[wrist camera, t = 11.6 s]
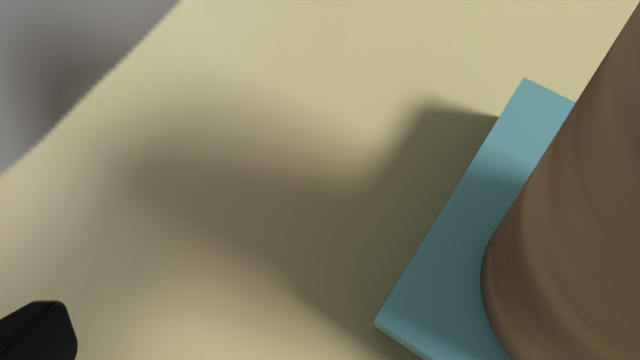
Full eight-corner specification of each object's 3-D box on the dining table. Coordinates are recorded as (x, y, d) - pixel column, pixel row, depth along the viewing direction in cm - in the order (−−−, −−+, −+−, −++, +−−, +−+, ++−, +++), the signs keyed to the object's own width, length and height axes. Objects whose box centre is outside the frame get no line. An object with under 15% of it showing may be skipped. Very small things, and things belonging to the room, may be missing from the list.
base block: (632, 501, 18) (700, 538, 15) (372, 326, 21) (374, 319, 17) (743, 249, 21) (825, 225, 17) (498, 121, 24) (523, 77, 20)
